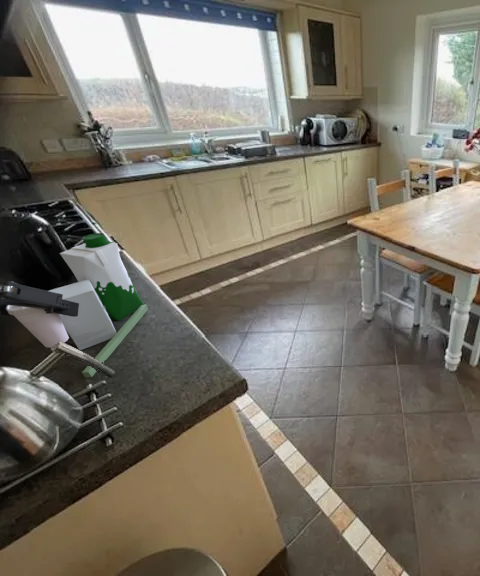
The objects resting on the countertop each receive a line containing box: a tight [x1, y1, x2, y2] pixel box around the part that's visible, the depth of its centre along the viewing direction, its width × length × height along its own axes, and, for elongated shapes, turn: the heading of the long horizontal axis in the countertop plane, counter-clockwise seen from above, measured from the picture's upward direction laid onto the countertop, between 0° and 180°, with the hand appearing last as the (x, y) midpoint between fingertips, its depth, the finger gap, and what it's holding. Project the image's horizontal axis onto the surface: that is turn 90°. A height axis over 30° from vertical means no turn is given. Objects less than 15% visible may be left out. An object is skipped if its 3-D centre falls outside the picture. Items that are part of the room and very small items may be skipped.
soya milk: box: [59, 232, 145, 322], centre depth 80 cm, size 9×9×20 cm
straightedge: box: [81, 304, 149, 379], centre depth 75 cm, size 1×24×2 cm, turn 8°
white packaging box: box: [49, 280, 118, 351], centre depth 73 cm, size 7×7×13 cm
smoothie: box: [6, 281, 70, 348], centre depth 62 cm, size 6×6×14 cm
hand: (56, 311), depth 66 cm, fingers closed on smoothie, 6 cm apart
